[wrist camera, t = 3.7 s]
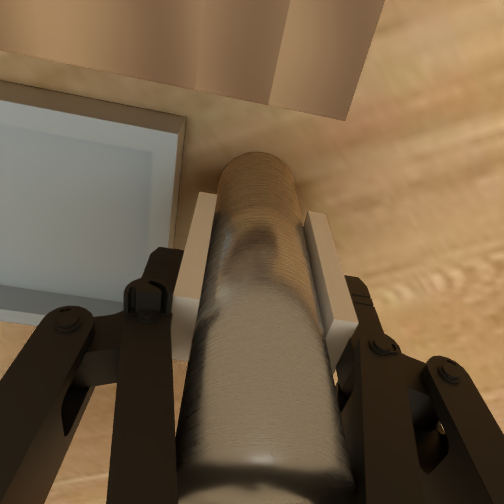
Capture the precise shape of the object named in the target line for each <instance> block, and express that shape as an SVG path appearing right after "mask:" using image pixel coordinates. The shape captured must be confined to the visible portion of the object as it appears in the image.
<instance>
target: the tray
mask: <svg viewBox="0 0 504 504" xmlns="http://www.w3.org/2000/svg"><path fill="white" fill-rule="evenodd" d="M185 127H186V117H183V116H178V115H173V114H168V113H163V112H158V111H153V110H148V109H143V108H138V107H133V106H128V105H123V104H117V103H112V102H107V101H102V100H97V99H92V98H87V97H82V96H77V95H72V94H67V93H62V92H57V91H52V90H46V89H41V88H36V87H31V86H26V85H21V84H16V83H11V82H6V81H1V80H0V321H3V322H11V323H18V324H26V325H33V326H38V325H39V323H40V322H41V320H42V319H43V318H44V317H45V316H46V315H47V314H48V313H49V312H50V311H52V310H54V309H56V308H59V307H63V306H68V305H69V306H80V307H83V308H86V309H87V310H88V311H90V312H91V313H92V315H93V317H96V316H106V315H112V314H116V313H118V312H121V311H123V297H124V290H125V287H126V286H127V285H128V284H129V283H130V282H132V281H134V280H136V279H139V278H141V277H142V275H143V273H144V269H145V267H146V265H147V261H148V259H149V256H150V254H151V253H152V252H153V251H154V250H156V249H157V248H158V247H165V248H172V249H173V248H174V238H175V228H176V218H177V208H178V198H179V187H180V177H181V167H182V157H183V147H184V137H185Z"/></svg>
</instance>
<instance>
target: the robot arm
mask: <svg viewBox="0 0 504 504" xmlns="http://www.w3.org/2000/svg"><path fill="white" fill-rule="evenodd" d="M216 200H217V194H211V193H205V192H200V191H199V195H198V199H197V203H196V207H195V211H194V215H193V219H192V223H191V227H190V231H189V235H188V238H187V242H186V246H185V250H178V249H172V248H165V247H158V248H157V249H156V250H154V251H153V252H152V253H151V254H150V256H149V259H148V261H147V265H146V267H145V269H144V273H143V275H142V277H141V278H139V279H136V280H134V281H132V282H130V283H129V284H128V285H127V286H126V287H125V290H124V297H123V311H121V312H118V313H116V314H112V315H106V316H96V317H93V315H92V313H91V312H90V311H88V310H87V309H86V308H83V307H80V306H69V305H68V306H63V307H59V308H56V309H54V310H52V311H50V312H49V313H48V314H47V315H46V316H45V317H44V318H43V319H42V320H41V322H40V323H39V325H38V326H37V328H36V329H35V331H34V332H33V334H32V335H31V336H30V338H29V339H28V341H27V342H26V344H25V345H24V347H23V348H22V350H21V351H20V353H19V354H18V356H17V357H16V358H15V360H14V361H13V363H12V364H11V366H10V367H9V369H8V370H7V372H6V373H5V375H4V376H3V377H2V379H1V380H0V504H44V503H45V500H46V498H47V496H48V493H49V491H50V489H51V487H52V484H53V482H54V480H55V477H56V475H57V473H58V471H59V468H60V466H61V464H62V461H63V459H64V457H65V455H66V452H67V450H68V448H69V445H70V443H71V441H72V439H73V436H74V434H75V432H76V429H77V427H78V425H79V423H80V420H81V418H82V416H83V413H84V411H85V409H86V407H87V404H88V402H89V400H90V397H91V395H92V393H93V391H94V388H95V386H99V385H105V384H111V383H117V390H116V401H115V412H114V423H113V434H112V445H111V456H110V467H109V478H108V490H107V501H106V504H178V492H177V467H176V443H175V418H174V394H173V369H172V359H173V360H181V361H189V355H190V349H191V343H192V337H193V332H194V328H195V325H196V320H197V314H198V308H199V302H200V296H201V290H202V284H203V279H204V273H205V267H206V261H207V255H208V249H209V243H210V237H211V231H212V225H213V219H214V212H215V206H216ZM303 229H304V234H305V239H306V244H307V249H308V254H309V259H310V264H311V269H312V274H313V279H314V284H315V289H316V294H317V299H318V304H319V309H320V314H321V319H322V324H323V329H324V334H325V339H326V344H327V349H328V354H329V359H330V364H331V369H332V374H334V372H335V370H336V371H337V376H338V382H337V384H336V385H335V389H336V394H337V399H338V404H339V409H340V414H341V419H342V424H343V429H344V434H345V439H346V444H347V449H348V454H349V459H350V464H351V469H352V474H353V479H354V484H355V489H356V494H355V496H354V497H353V498H352V500H351V501H350V502H349V504H504V434H503V433H502V431H501V429H500V427H499V426H498V424H497V422H496V421H495V419H494V417H493V415H492V414H491V412H490V410H489V409H488V407H487V405H486V403H485V402H484V400H483V398H482V397H481V395H480V393H479V391H478V390H477V388H476V386H475V385H474V383H473V381H472V379H471V378H470V376H469V375H468V373H467V372H466V371H465V369H464V368H463V367H461V366H460V365H459V364H458V363H457V362H455V361H453V360H451V359H449V358H447V357H443V356H433V357H431V358H430V359H429V360H428V361H427V362H426V363H424V362H421V361H419V360H416V359H414V358H411V357H409V356H406V355H404V354H402V352H401V350H400V347H399V345H398V344H397V343H396V342H395V341H394V340H393V339H392V338H391V337H389V336H388V335H386V334H384V332H383V329H382V326H381V324H380V321H379V318H378V315H377V313H376V310H375V307H373V302H372V299H370V297H371V296H370V294H369V291H368V288H367V286H366V285H365V284H364V283H363V282H362V281H361V280H360V278H358V277H352V276H346V275H344V273H343V270H342V267H341V264H340V260H339V257H338V254H337V250H336V247H335V244H334V241H333V237H332V234H331V231H330V228H329V224H328V221H327V218H326V214H324V213H318V212H313V211H308V214H307V217H306V220H305V223H304V226H303ZM441 424H442V426H443V428H444V430H443V428H442V426H441ZM444 431H445V432H444Z"/></svg>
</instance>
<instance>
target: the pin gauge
mask: <svg viewBox="0 0 504 504" xmlns="http://www.w3.org/2000/svg"><path fill="white" fill-rule="evenodd" d="M175 443H176V467H177V492H178V504H349V502H350V501H351V500H352V498H353V497H354V496H355V494H356V489H355V484H354V479H353V474H352V469H351V464H350V459H349V454H348V449H347V444H346V439H345V434H344V429H343V424H342V419H341V414H340V409H339V404H338V399H337V394H336V389H335V384H334V379H333V374H332V369H331V364H330V359H329V354H328V349H327V344H326V339H325V334H324V329H323V324H322V319H321V314H320V309H319V304H318V299H317V294H316V289H315V284H314V279H313V274H312V269H311V264H310V259H309V254H308V249H307V244H306V239H305V234H304V229H303V224H302V219H301V214H300V209H299V204H298V199H297V194H296V189H295V184H294V179H293V176H292V173H291V171H290V170H289V168H288V167H287V166H286V164H285V163H284V162H282V161H281V160H280V159H278V158H277V157H275V156H273V155H270V154H267V153H261V152H253V153H247V154H243V155H241V156H238V157H237V158H235V159H234V160H232V161H231V162H230V163H229V164H228V165H227V166H226V167H225V168H224V170H223V172H222V174H221V176H220V180H219V185H218V191H217V200H216V206H215V212H214V219H213V225H212V231H211V237H210V243H209V249H208V255H207V261H206V267H205V273H204V279H203V284H202V290H201V296H200V302H199V308H198V314H197V320H196V325H195V328H194V332H193V337H192V343H191V349H190V355H189V361H188V367H187V373H186V379H185V384H184V390H183V396H182V402H181V408H180V414H179V420H178V425H177V431H176V437H175Z"/></svg>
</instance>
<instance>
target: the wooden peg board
mask: <svg viewBox="0 0 504 504" xmlns="http://www.w3.org/2000/svg"><path fill="white" fill-rule="evenodd" d="M384 2H385V0H0V50H2V51H7V52H11V53H16V54H21V55H26V56H31V57H36V58H41V59H46V60H50V61H55V62H60V63H65V64H70V65H75V66H80V67H85V68H89V69H94V70H99V71H104V72H109V73H114V74H119V75H124V76H128V77H133V78H138V79H143V80H148V81H153V82H158V83H163V84H167V85H172V86H177V87H182V88H187V89H192V90H197V91H202V92H206V93H211V94H216V95H221V96H226V97H231V98H236V99H241V100H245V101H250V102H255V103H260V104H265V105H270V106H275V107H280V108H284V109H289V110H294V111H299V112H304V113H309V114H314V115H319V116H323V117H328V118H333V119H338V120H343V121H345V120H346V117H347V114H348V111H349V108H350V105H351V102H352V99H353V96H354V93H355V90H356V87H357V83H358V80H359V77H360V74H361V71H362V68H363V65H364V62H365V59H366V56H367V53H368V50H369V47H370V44H371V41H372V38H373V35H374V32H375V29H376V26H377V23H378V20H379V17H380V14H381V11H382V8H383V5H384Z"/></svg>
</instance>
